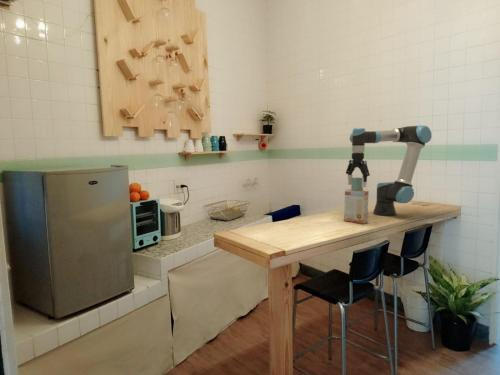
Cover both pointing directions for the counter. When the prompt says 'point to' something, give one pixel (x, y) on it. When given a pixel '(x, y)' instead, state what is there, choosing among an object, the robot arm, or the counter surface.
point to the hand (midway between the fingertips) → (356, 185)
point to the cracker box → (356, 206)
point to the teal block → (356, 184)
